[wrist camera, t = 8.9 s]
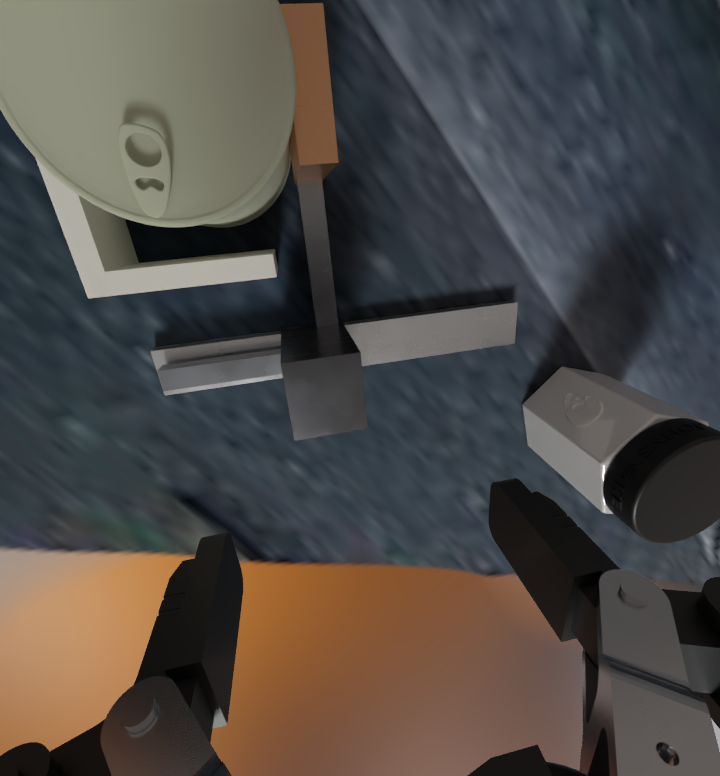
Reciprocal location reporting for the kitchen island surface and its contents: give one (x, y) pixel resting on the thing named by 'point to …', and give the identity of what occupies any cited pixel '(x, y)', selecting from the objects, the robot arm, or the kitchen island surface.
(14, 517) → the kitchen island surface
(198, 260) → the frame
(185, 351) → the rail
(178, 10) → the can
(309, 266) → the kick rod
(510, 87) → the kitchen island surface
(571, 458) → the jar
